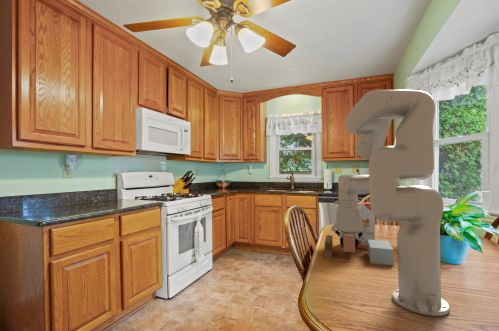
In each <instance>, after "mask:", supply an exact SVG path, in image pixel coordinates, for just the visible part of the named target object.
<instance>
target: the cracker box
mask: <svg viewBox="0 0 499 331" xmlns="http://www.w3.org/2000/svg"><path fill="white" fill-rule="evenodd" d="M358 207H359V208H360V211H361V218H362V225H363V226H364V227H365V228H366V230H367V233H365V234H363V235H362V236H361V237H360V238H359V239H358V246H357V249H367V250H368V239H369V240H376V235H375V233H376V232H375V228H376V227H375V226H376V225H375V220H376V219H375V216H374V214H373V213H372V210H371V205H370V202H367V201H366V202H362V201H361V202H360V201H358ZM362 231H363V230H362ZM358 233H359V232H358ZM354 234H355V233H354Z"/></svg>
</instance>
